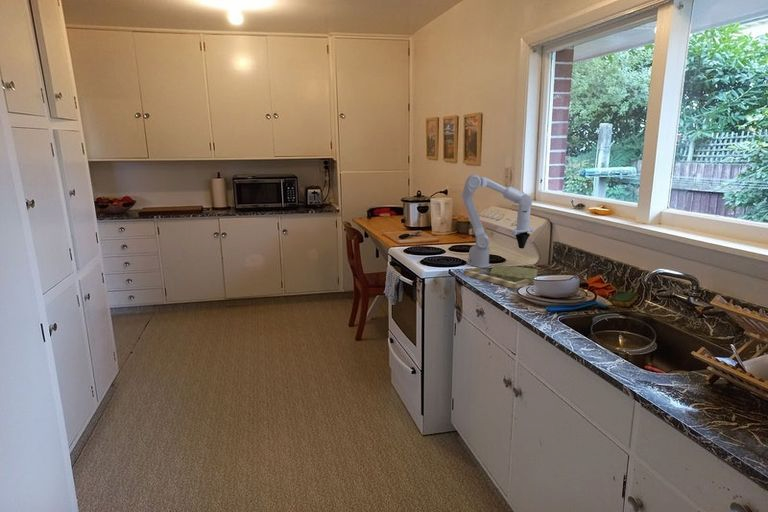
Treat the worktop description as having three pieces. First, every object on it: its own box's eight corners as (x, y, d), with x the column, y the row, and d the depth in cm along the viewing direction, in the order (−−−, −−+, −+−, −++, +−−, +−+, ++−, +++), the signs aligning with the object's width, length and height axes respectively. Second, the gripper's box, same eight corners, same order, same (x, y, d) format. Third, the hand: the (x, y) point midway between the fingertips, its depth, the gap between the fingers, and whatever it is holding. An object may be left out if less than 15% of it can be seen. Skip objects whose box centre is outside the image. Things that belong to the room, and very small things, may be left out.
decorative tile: (492, 270, 224) (493, 263, 223) (537, 275, 217) (538, 267, 216) (486, 281, 207) (487, 273, 206) (535, 286, 200) (535, 277, 199)
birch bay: (463, 274, 214) (464, 270, 214) (478, 271, 220) (478, 267, 220) (514, 288, 194) (514, 284, 194) (528, 284, 200) (528, 279, 200)
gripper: (521, 222, 216) (519, 251, 219) (539, 219, 225) (537, 247, 228) (508, 220, 221) (506, 249, 224) (526, 217, 230) (524, 245, 233)
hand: (521, 248), depth 226 cm, fingers closed
